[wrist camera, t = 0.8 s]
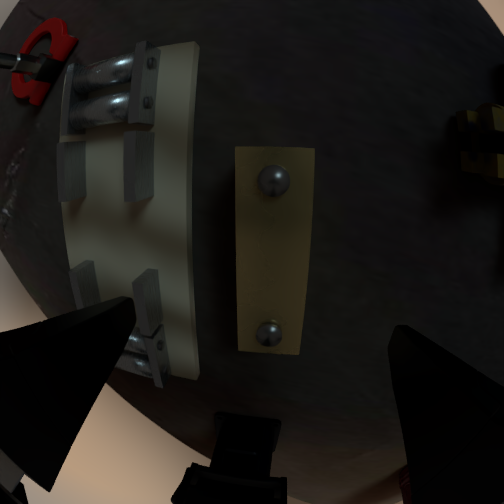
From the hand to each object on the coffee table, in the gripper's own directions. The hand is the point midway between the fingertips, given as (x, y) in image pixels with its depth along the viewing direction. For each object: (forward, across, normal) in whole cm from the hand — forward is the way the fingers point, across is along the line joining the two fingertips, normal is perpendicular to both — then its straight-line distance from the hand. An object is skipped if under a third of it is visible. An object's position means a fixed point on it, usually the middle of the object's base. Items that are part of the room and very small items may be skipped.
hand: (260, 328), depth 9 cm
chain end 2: (+8, +11, +7) cm, 15 cm away
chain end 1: (+8, +11, -7) cm, 16 cm away
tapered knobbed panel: (+10, 0, 0) cm, 10 cm away
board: (+9, +11, 0) cm, 14 cm away
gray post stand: (+10, +22, -16) cm, 29 cm away
